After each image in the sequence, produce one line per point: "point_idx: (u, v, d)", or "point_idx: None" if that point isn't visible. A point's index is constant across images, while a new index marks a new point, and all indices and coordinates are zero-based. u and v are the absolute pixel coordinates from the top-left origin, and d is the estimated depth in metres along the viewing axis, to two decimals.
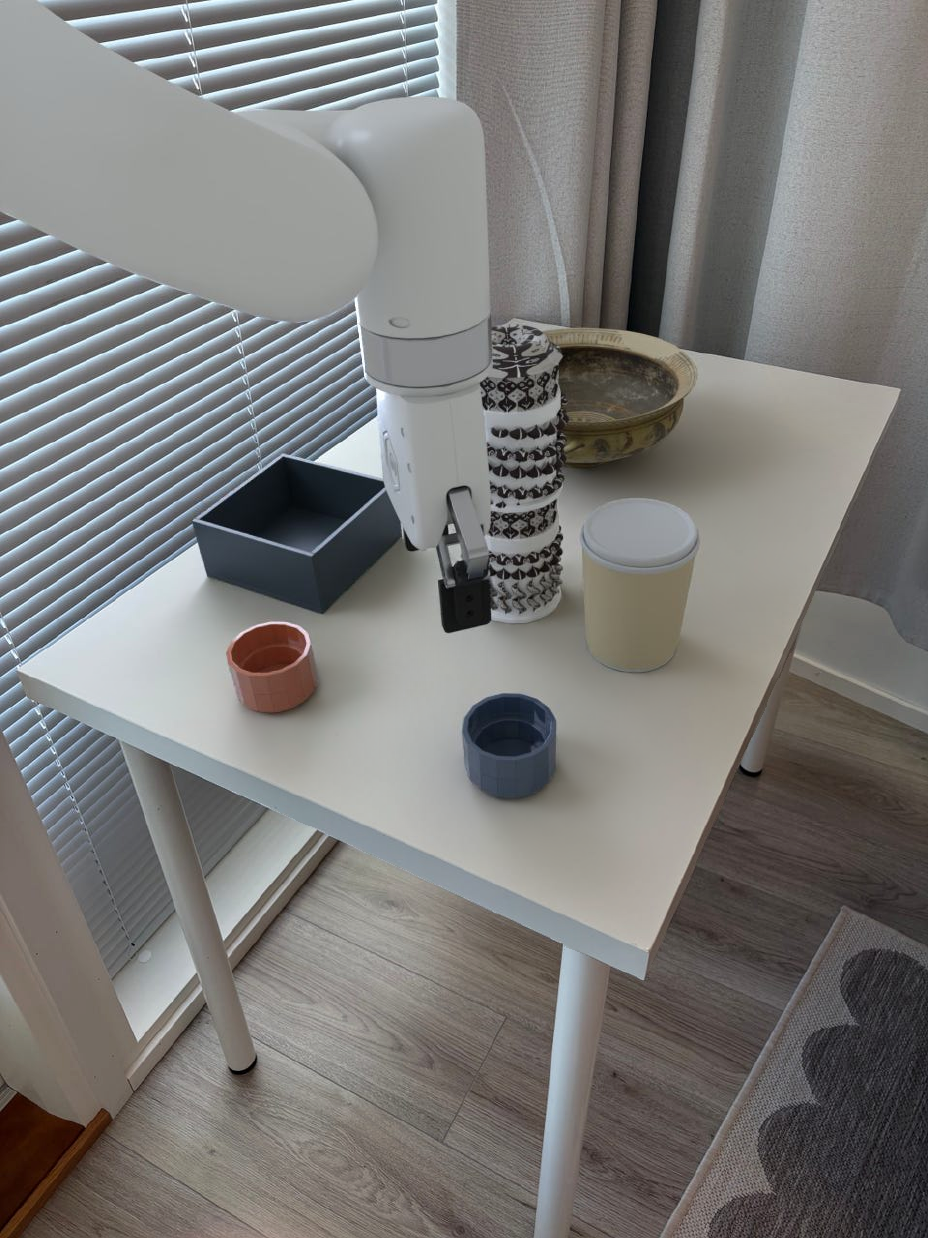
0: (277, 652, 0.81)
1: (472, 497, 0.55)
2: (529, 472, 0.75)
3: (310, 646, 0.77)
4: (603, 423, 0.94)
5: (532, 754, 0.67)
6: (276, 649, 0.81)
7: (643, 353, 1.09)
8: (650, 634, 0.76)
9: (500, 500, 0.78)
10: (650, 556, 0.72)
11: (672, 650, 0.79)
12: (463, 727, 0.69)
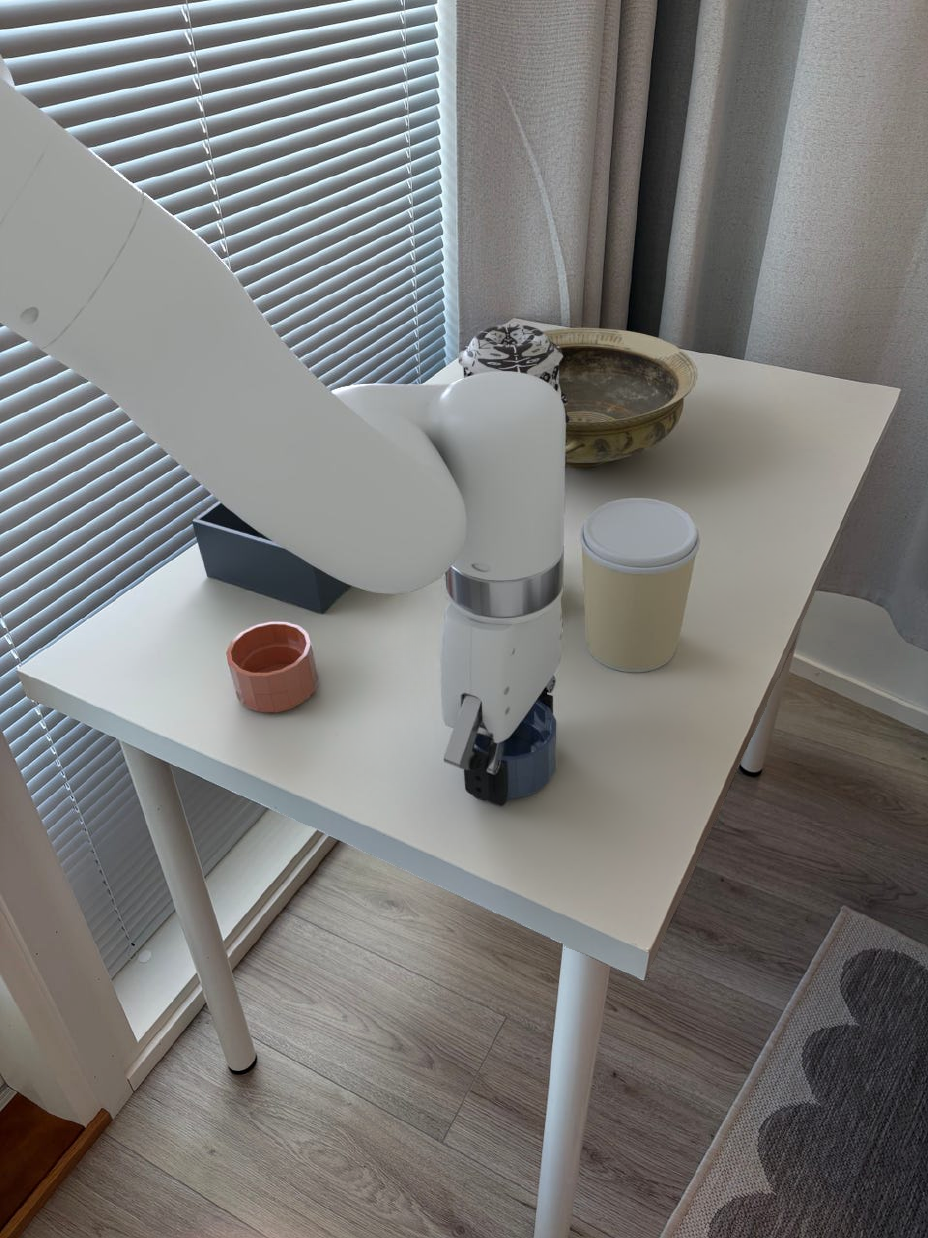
0: (277, 652, 0.81)
1: (482, 709, 0.61)
2: None
3: (310, 646, 0.77)
4: (603, 423, 0.94)
5: (532, 754, 0.67)
6: (276, 649, 0.81)
7: (643, 353, 1.09)
8: (650, 634, 0.76)
9: None
10: (650, 556, 0.72)
11: (672, 650, 0.79)
12: None
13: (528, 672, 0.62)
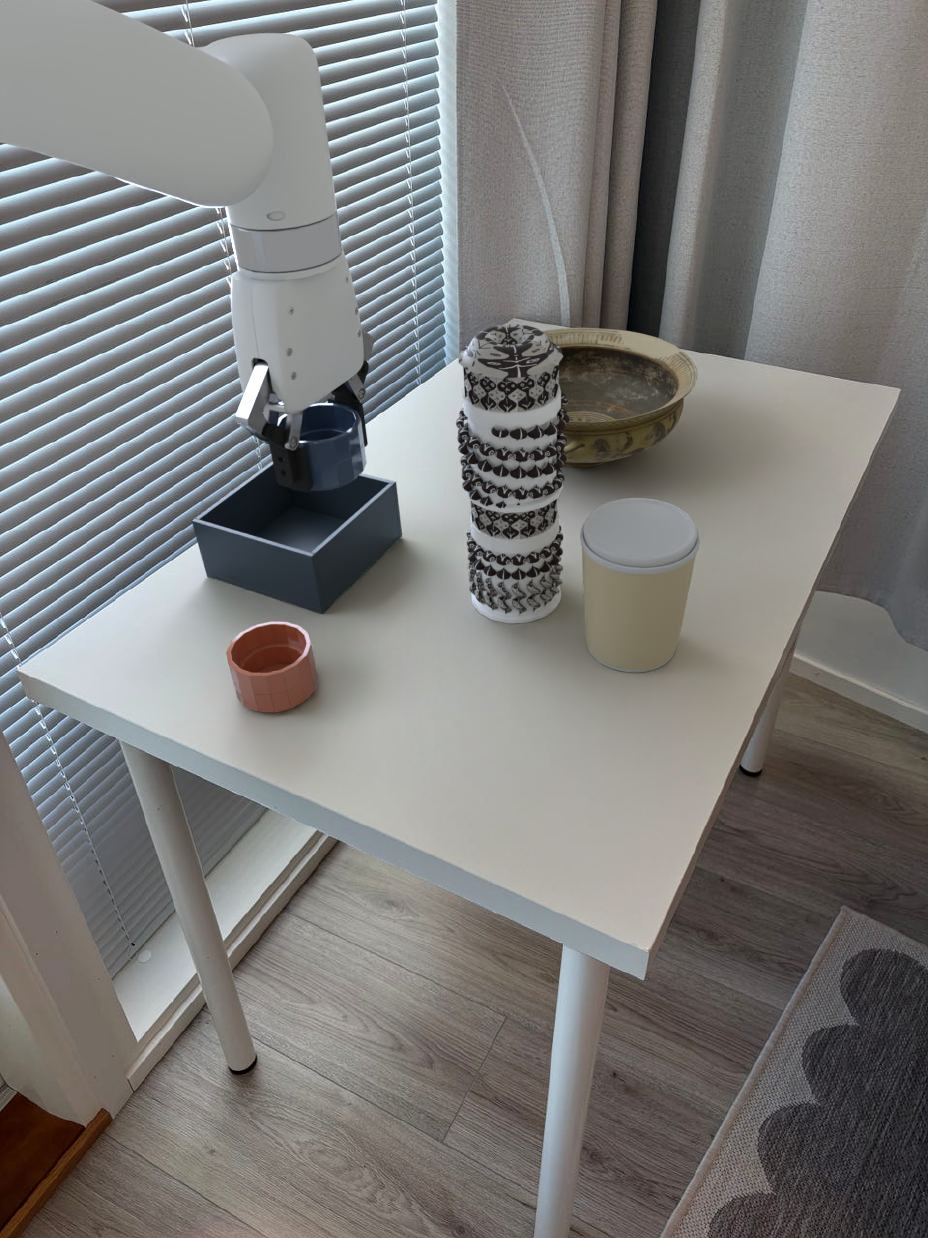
0: (277, 652, 0.81)
1: (270, 372, 0.68)
2: (530, 472, 0.75)
3: (310, 646, 0.77)
4: (603, 423, 0.94)
5: (331, 439, 0.73)
6: (276, 649, 0.81)
7: (643, 353, 1.09)
8: (650, 634, 0.76)
9: (500, 500, 0.78)
10: (650, 556, 0.72)
11: (672, 650, 0.79)
12: None
13: (315, 344, 0.69)
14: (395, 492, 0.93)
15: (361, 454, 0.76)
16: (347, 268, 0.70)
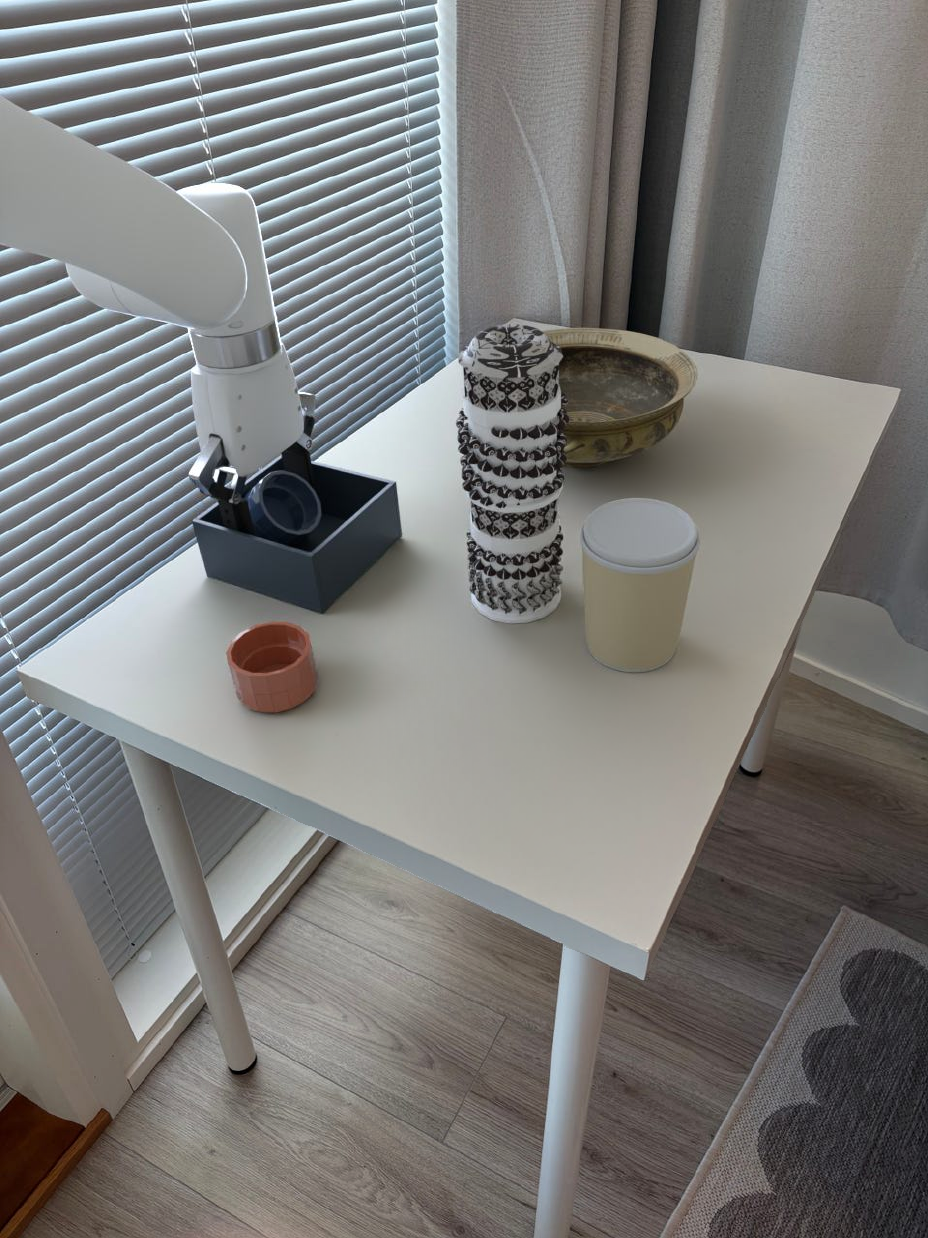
0: (277, 652, 0.81)
1: (224, 445, 0.84)
2: (530, 472, 0.75)
3: (310, 646, 0.77)
4: (603, 423, 0.94)
5: (298, 533, 0.92)
6: (276, 649, 0.81)
7: (643, 353, 1.09)
8: (650, 634, 0.76)
9: (500, 500, 0.78)
10: (650, 556, 0.72)
11: (672, 650, 0.79)
12: (260, 486, 0.91)
13: (260, 421, 0.85)
14: (395, 492, 0.93)
15: None
16: (287, 358, 0.86)
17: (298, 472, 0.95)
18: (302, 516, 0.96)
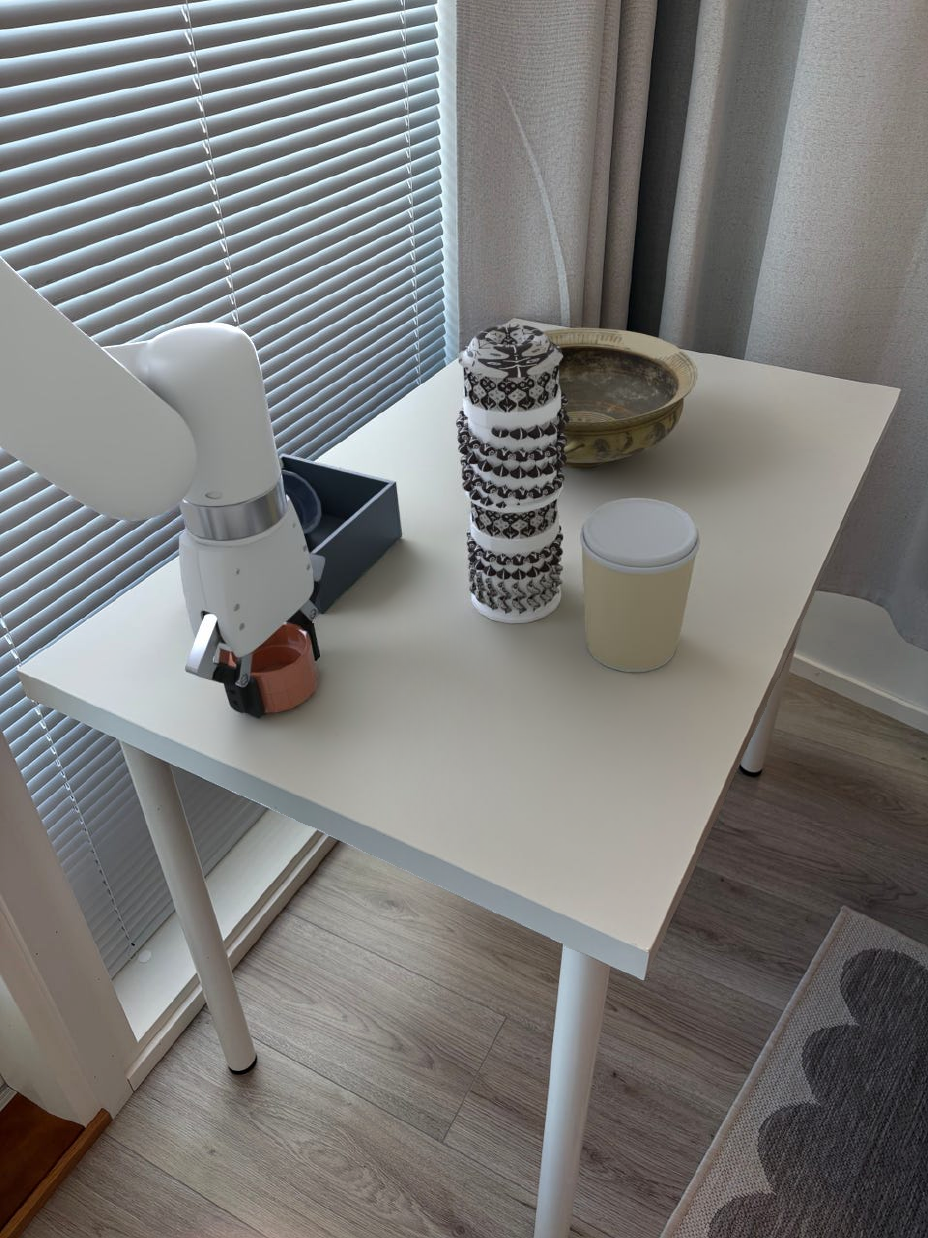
0: (277, 652, 0.81)
1: (219, 624, 0.69)
2: (530, 472, 0.75)
3: (310, 646, 0.77)
4: (603, 423, 0.94)
5: None
6: (276, 649, 0.81)
7: (643, 353, 1.09)
8: (650, 634, 0.76)
9: (500, 500, 0.78)
10: (650, 556, 0.72)
11: (672, 650, 0.79)
12: None
13: (263, 593, 0.71)
14: (395, 492, 0.93)
15: None
16: (294, 514, 0.72)
17: None
18: (302, 516, 0.96)
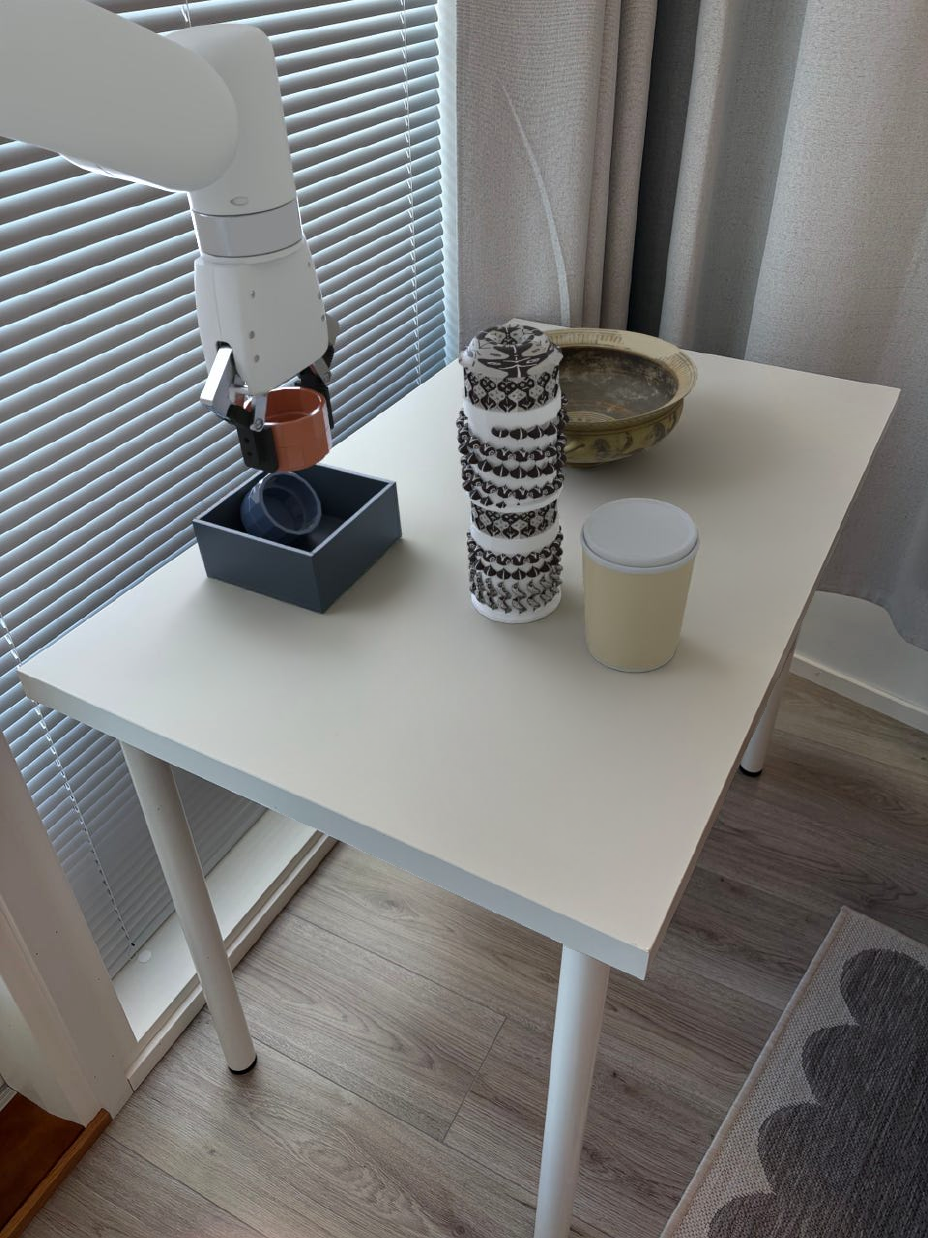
0: (291, 420, 0.81)
1: (234, 355, 0.69)
2: (530, 472, 0.75)
3: (324, 403, 0.77)
4: (603, 423, 0.94)
5: (298, 533, 0.92)
6: (290, 417, 0.81)
7: (643, 353, 1.09)
8: (650, 634, 0.76)
9: (500, 500, 0.78)
10: (650, 556, 0.72)
11: (672, 650, 0.79)
12: (260, 486, 0.91)
13: (277, 327, 0.70)
14: (395, 492, 0.93)
15: None
16: (309, 253, 0.72)
17: None
18: (302, 516, 0.96)
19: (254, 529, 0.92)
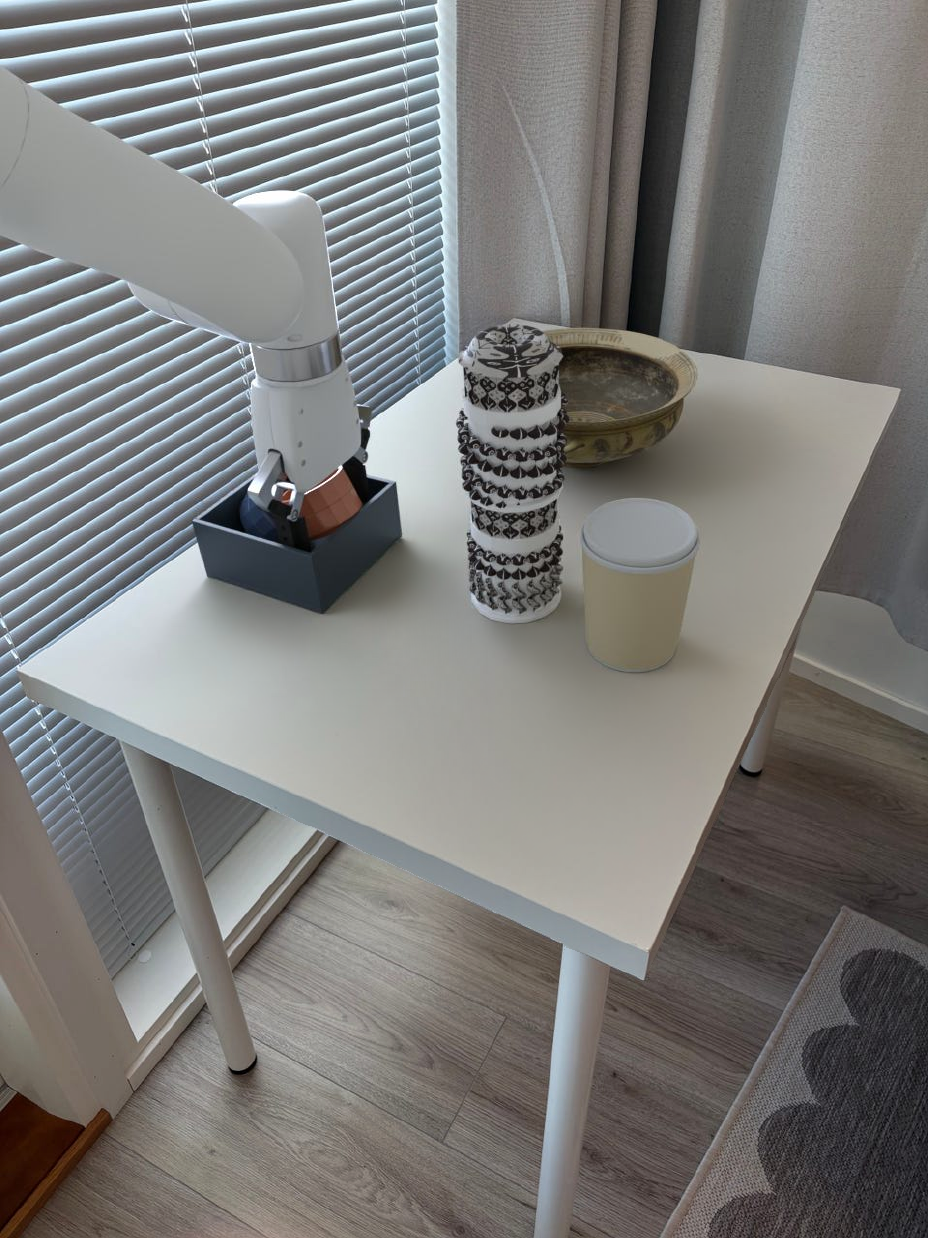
0: None
1: (284, 460, 0.81)
2: (530, 472, 0.75)
3: (342, 469, 0.88)
4: (603, 423, 0.94)
5: None
6: None
7: (643, 353, 1.09)
8: (650, 634, 0.76)
9: (500, 500, 0.78)
10: (650, 556, 0.72)
11: (672, 650, 0.79)
12: None
13: (321, 435, 0.82)
14: (395, 492, 0.93)
15: None
16: (347, 370, 0.83)
17: (353, 486, 0.92)
18: None
19: (254, 530, 0.92)
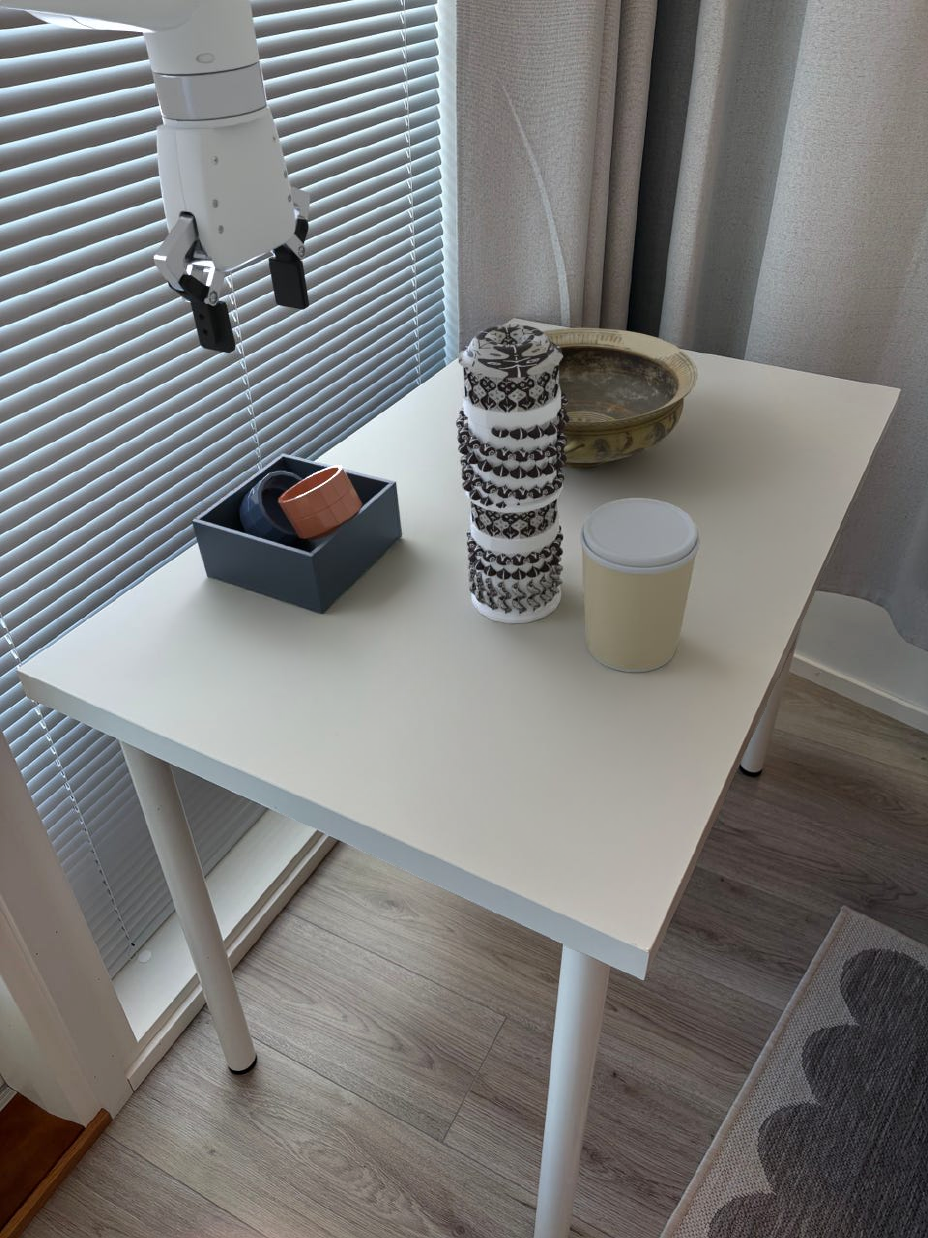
0: None
1: (197, 225, 0.69)
2: (530, 472, 0.75)
3: (342, 469, 0.88)
4: (603, 423, 0.94)
5: None
6: None
7: (643, 353, 1.09)
8: (650, 634, 0.76)
9: (500, 500, 0.78)
10: (650, 556, 0.72)
11: (672, 650, 0.79)
12: (259, 488, 0.91)
13: (242, 200, 0.70)
14: (395, 492, 0.93)
15: None
16: (274, 127, 0.71)
17: (289, 288, 0.80)
18: None
19: (253, 530, 0.92)
